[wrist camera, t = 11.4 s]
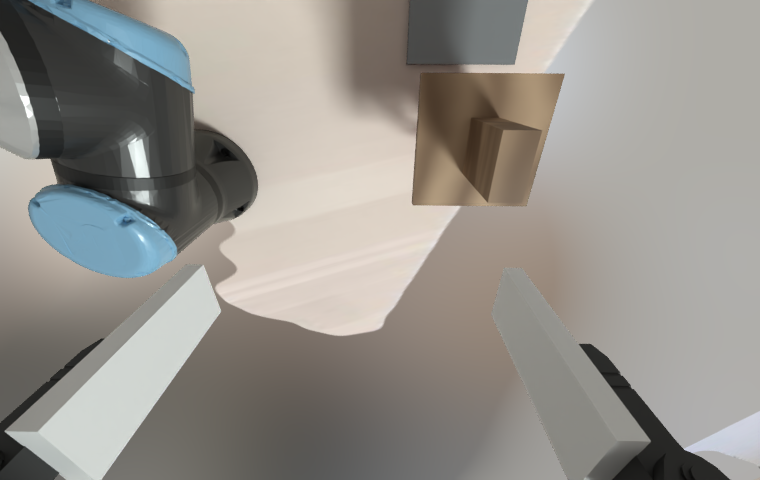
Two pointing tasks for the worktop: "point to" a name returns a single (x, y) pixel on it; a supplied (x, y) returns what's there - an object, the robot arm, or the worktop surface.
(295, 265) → the worktop surface
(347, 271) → the worktop surface
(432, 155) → the wooden base stand
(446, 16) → the mat
